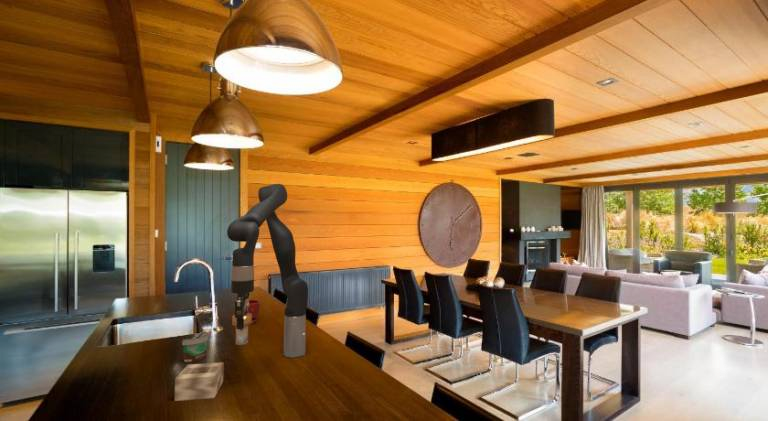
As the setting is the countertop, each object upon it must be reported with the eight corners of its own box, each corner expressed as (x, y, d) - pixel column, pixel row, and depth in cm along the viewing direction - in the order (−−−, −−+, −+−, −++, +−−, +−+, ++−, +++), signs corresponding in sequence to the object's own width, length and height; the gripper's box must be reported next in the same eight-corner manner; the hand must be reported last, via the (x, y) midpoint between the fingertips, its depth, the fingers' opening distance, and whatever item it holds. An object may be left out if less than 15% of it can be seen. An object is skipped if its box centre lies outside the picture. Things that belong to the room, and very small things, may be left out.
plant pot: (254, 325, 202) (255, 304, 202) (231, 325, 202) (231, 303, 202) (262, 319, 215) (263, 299, 215) (240, 319, 215) (241, 298, 215)
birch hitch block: (223, 381, 131) (223, 362, 131) (214, 397, 119) (214, 376, 119) (187, 384, 128) (187, 364, 129) (174, 401, 117) (175, 379, 117)
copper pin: (252, 339, 131) (253, 312, 131) (249, 345, 124) (250, 317, 125) (234, 340, 129) (234, 313, 130) (230, 346, 123) (230, 318, 123)
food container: (194, 366, 145) (195, 341, 145) (181, 364, 146) (182, 339, 146) (214, 355, 157) (215, 331, 157) (202, 354, 158) (203, 330, 158)
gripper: (250, 281, 121) (249, 331, 121) (256, 275, 135) (256, 320, 135) (226, 282, 120) (225, 332, 119) (235, 275, 134) (234, 321, 133)
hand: (242, 325), depth 127 cm, fingers closed on copper pin, 6 cm apart
